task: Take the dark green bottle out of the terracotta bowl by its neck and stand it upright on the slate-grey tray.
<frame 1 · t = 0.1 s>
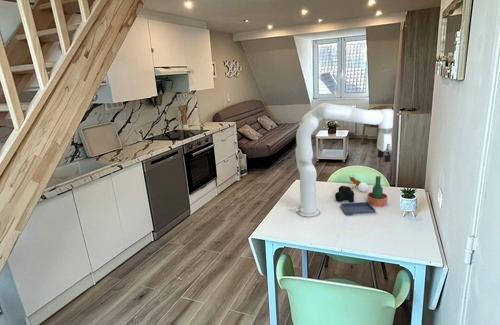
hand: (383, 159, 182), 31 cm above the table, tool pointing down, fingers open, 9 cm apart
tray: (357, 210, 190), on the table
film camera: (343, 200, 207), on the table
bottle: (376, 202, 197), point 1 cm above the table, touching bowl
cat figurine: (355, 189, 223), on the table
bowl: (376, 203, 198), on the table
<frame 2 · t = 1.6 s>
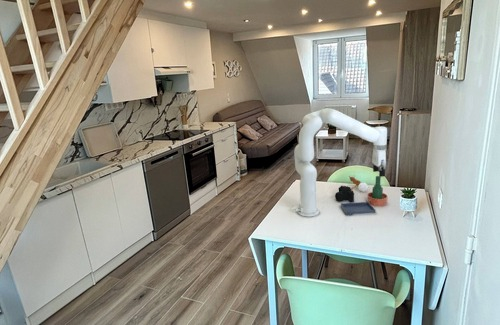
hand: (378, 173, 192), 20 cm above the table, tool pointing down, fingers open, 9 cm apart
nothing on the table moved.
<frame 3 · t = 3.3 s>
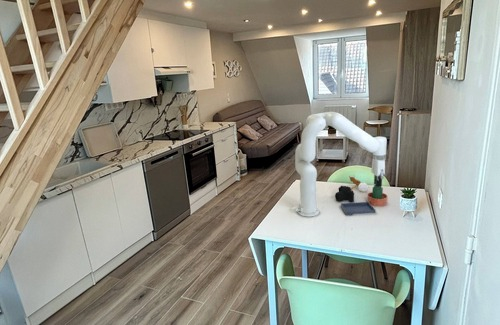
hand: (377, 184, 194), 13 cm above the table, tool pointing down, fingers closed on bottle, 2 cm apart
bottle: (376, 202, 197), point 1 cm above the table, touching bowl, gripper
everything else where it was.
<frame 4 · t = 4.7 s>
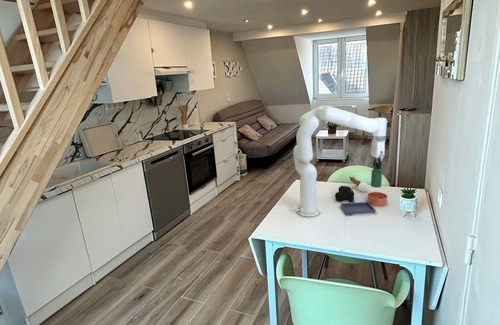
hand: (377, 167, 190), 24 cm above the table, tool pointing down, fingers closed on bottle, 2 cm apart
bottle: (375, 185, 194), point 12 cm above the table, touching gripper
everything else where it was.
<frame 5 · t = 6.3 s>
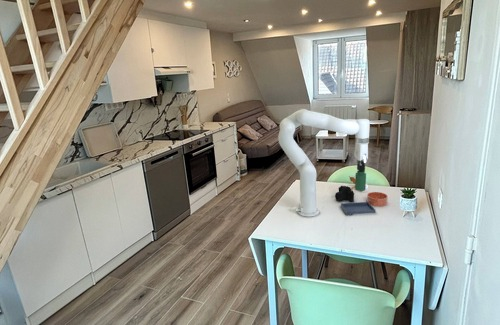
hand: (360, 170, 184), 25 cm above the table, tool pointing down, fingers closed on bottle, 2 cm apart
bottle: (360, 189, 188), point 13 cm above the table, touching gripper
everything else where it was.
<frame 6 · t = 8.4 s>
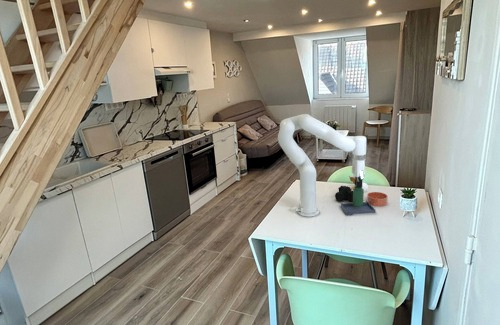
hand: (358, 186, 186), 16 cm above the table, tool pointing down, fingers closed on bottle, 2 cm apart
bottle: (358, 204, 189), point 4 cm above the table, touching gripper
everything else where it was.
when the fingers open (13 cm above the table, at t = 9.5 s): bottle stays where it is, resting on tray.
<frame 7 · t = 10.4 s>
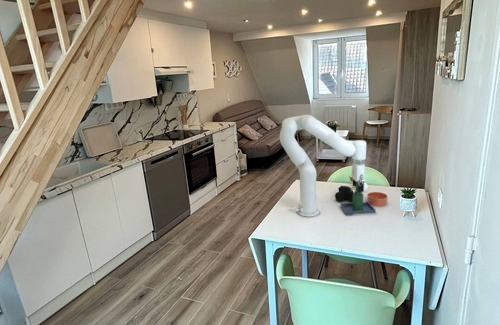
hand: (358, 188, 186), 14 cm above the table, tool pointing down, fingers open, 9 cm apart
bottle: (357, 209, 190), point 1 cm above the table, touching tray
everything else where it was.
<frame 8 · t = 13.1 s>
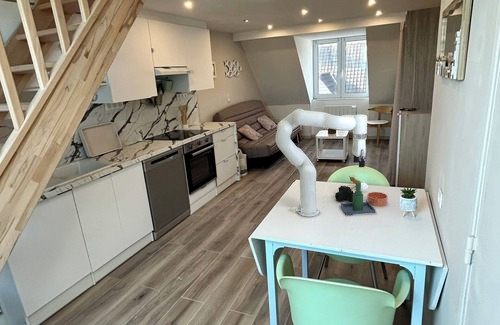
hand: (358, 164, 182), 29 cm above the table, tool pointing down, fingers open, 9 cm apart
nothing on the table moved.
at the end: bottle inside the target area in the tray (0.1 cm from its centre), point 0.6 cm above the tray's base; bottle tilted 0°; the gripper is holding nothing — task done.
